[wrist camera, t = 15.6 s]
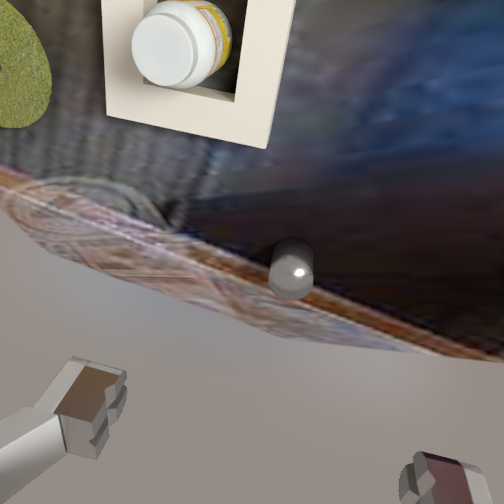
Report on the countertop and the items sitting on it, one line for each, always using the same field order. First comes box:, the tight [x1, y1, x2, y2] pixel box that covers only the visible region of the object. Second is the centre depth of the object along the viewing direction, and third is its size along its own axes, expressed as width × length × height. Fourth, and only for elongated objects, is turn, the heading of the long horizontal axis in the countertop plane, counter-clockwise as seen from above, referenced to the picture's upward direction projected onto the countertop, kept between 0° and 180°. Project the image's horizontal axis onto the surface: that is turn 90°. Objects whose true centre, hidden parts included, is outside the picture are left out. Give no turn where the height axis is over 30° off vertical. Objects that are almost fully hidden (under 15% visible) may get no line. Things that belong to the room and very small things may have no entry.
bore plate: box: [101, 0, 296, 149], centre depth 30 cm, size 14×14×3 cm
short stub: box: [268, 238, 313, 300], centre depth 40 cm, size 4×4×5 cm
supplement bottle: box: [131, 0, 232, 89], centre depth 28 cm, size 5×5×10 cm
